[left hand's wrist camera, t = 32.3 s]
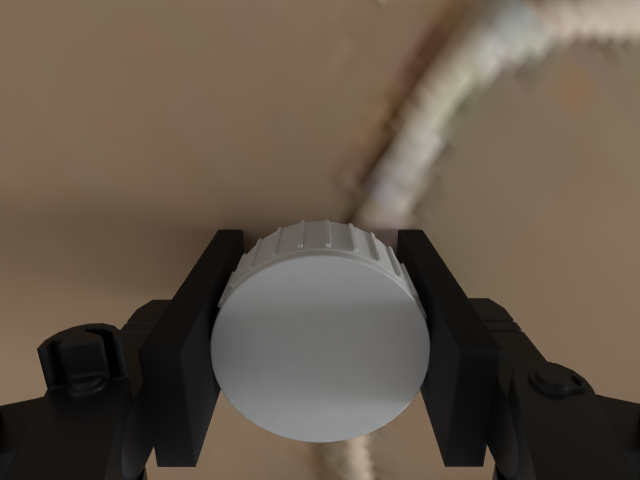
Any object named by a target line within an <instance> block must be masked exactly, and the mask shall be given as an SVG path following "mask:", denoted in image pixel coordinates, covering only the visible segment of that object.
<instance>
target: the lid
mask: <svg viewBox="0 0 640 480" xmlns="http://www.w3.org/2000/svg"><path fill="white" fill-rule="evenodd" d="M418 297H419V296H418V294H417V292H416V289H415V287H414V285H413V283H412V281H411V278H410V276H409V274H408V272H407V270H406V267H405V265H404V264H403V263H402V264H400V263H399V261H398V260H397V258H396V257H395V255H394V252H393V250H392V248H391V247H390V246H388V247H386V246H385V245H384V244H383V243H382V242H381V241H379V240H378V239H376V238H375V235H374V234H373V233H372V232H371V233H370V234H369V233H367V232H365V231H363V230H361V229H358V228H356V227H353V224H351V223H349V224H348V225H347V224H342V223H337V222H329V219H325V221H311V222H305V220H303V221H301V222H300V223H298V224H294V225H291V226H288V227H285V228H282V227H279V228H278V229H277V231H276V232H274V233H272V234H270V235H269V236H267V237H265V238H264V239H261V238H260V239H258V241H257V244H256V245H255V246H254V247H253V248H252V249H251V250H250V251H249V252H248V254H247V255H246V254H245V253H244V254H243V255H242V257H241V260H240V262H239V264H238V266H237V269H236V271H235V272H232V274H231V277H230V279H229V281H228V283H227V286H226V288H225V290H224V292H223V294H222V297H221V299H220V301H219V303H218V306H217V307H220V310H219V312H218V315H217V317H216V320H215V323H214V326H213V329H212V335H211V341H210V347H211V358H212V367H213V371H214V374H215V377H216V380H217V382H218V384H219V386H220V388H221V390H222V392H223V393H224V395H225V396H226V398H227V399H228V401H229V402H230V403H231V404H232V405H233V406H234V407H235V408H236V410H238V411H239V412H240V413H241V414H242V415H243V416H244V417H246V418H247V419H248V420H250V421H251V422H253V423H254V424H256V425H257V426H259V427H261V428H263V429H265V430H267V431H269V432H271V433H274V434H276V435H279V436H282V437H286V438H290V439H294V440H300V441H306V442H334V441H341V440H347V439H351V438H355V437H358V436H361V435H364V434H367V433H369V432H371V431H373V430H376V429H378V428H380V427H382V426H383V425H385V424H386V423H388V422H389V421H391V420H392V419H394V418H395V417H396V416H397V415H398V414H400V413H401V412H402V411H403V410H404V409H405V408H406V407H407V406H408V405H409V404H410V402H411V401H412V400H413V398H414V397H415V396H416V394H417V393H418V391H419V389H420V387H421V385H422V383H423V381H424V379H425V376H426V373H427V370H428V365H429V356H430V336H429V331H428V327H427V323H426V320H425V319H427V316H426V313H425V311H424V309H423V307H422V304H421V302H420V300H419V298H418Z"/></svg>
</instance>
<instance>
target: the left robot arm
mask: <svg viewBox="0 0 640 480" xmlns="http://www.w3.org/2000/svg"><path fill="white" fill-rule="evenodd" d="M243 254H244V246H243V231H242V230H218V232H217V233H216V235H215V236H214V238H213V239H212V241H211V242H210V244H209V245H208V247H207V248H206V250H205V251H204V253H203V254H202V256H201V257H200V259H199V260H198V262H197V263H196V265H195V266H194V268H193V269H192V271H191V272H190V274H189V275H188V276H187V278H186V279H185V281H184V282H183V284H182V285H181V287H180V288H179V290H178V291H177V293H176V294H175V296H174V297H173V299H172V300H151V301H150V302H148V303H147V304H145V305H143V306H142V307H140V308H139V309H137V310H136V311H135V312H134V314H133V315H132V316H131V318H130V319H129V320H128V321H127V324H125V325H124V326H123V328H122V329H121V330H119V329H117V328H116V327H115V326H113V325H108V324H103V323H99V324H85V325H80V326H76V327H72V328H69V329H66V330H64V331H61V332H58V333H57V334H55V335H53V336H52V337H50V338H48V339H47V340H45V341H44V342H43V343H42V344H41V345H40V346H39V347H38V348H37V351H38V355H39V358H40V362H41V366H42V370H43V373H44V377H45V381H46V385H47V391H46V393H45V395H44V397H40V398H36V399H32V400H27V401H22V402H17V403H12V404H7V405H3V406H0V480H147V473H146V468H145V464H146V462H147V460H148V458H149V456H150V453H151V451H152V449H153V447H154V448H155V454H156V460H157V466H158V467H196V464H197V461H198V458H199V455H200V452H201V449H202V445H203V442H204V439H205V436H206V433H207V430H208V427H209V424H210V421H211V417H212V414H213V411H214V408H215V405H216V402H217V399H218V396H219V393H220V389H221V388H220V386H219V384H218V382H217V380H216V377H215V374H214V371H213V367H212V358H211V347H210V341H211V335H212V329H213V326H214V323H215V320H216V317H217V315H218V312H219V310H220V307H217V306H218V303H219V301H220V299H221V297H222V294H223V292H224V290H225V288H226V286H227V283H228V281H229V279H230V277H231V274H232V272H235V271H236V269H237V266H238V264H239V262H240V260H241V257H242V255H243ZM397 260H398V261H399V263H400V264H402V263H403V264H404V265H405V267H406V270H407V272H408V274H409V276H410V278H411V281H412V283H413V285H414V287H415V289H416V292H417V294H418V296H419V297H418V298H419V300H420V302H421V304H422V307H423V309H424V311H425V313H426V316H427V319H425V320H426V323H427V327H428V331H429V336H430V356H429V365H428V370H427V373H426V376H425V379H424V381H423V383H422V385H421V387H420V390H421V393H422V396H423V399H424V402H425V406H426V409H427V412H428V415H429V418H430V421H431V424H432V427H433V431H434V434H435V437H436V440H437V443H438V446H439V449H440V452H441V456H442V459H443V462H444V465H445V467H483V464H484V458H485V452H486V447H487V445H488V447H489V449H490V452H491V454H492V456H493V458H494V460H495V468H494V473H493V478H492V480H640V404H638V403H633V402H628V401H623V400H618V399H614V398H609V397H604V396H601V395H597V394H595V392H594V390H593V388H592V387H591V386H590V385H589V383H588V382H587V381H586V380H585V379H584V378H583V377H582V376H580V375H579V374H577V373H576V372H574V371H573V370H571V369H568V368H566V367H564V366H562V365H559V364H556V363H551V362H547V361H546V360H545V358H544V357H543V356H542V355H541V353H540V352H539V351H538V350H537V348H536V347H535V346H534V345H533V343H532V342H531V341H530V340H529V338H528V337H527V336H526V335H525V333H524V332H522V330H521V328H520V327H519V326H518V325H517V323H516V322H514V320H513V318H512V317H511V316H510V315H509V313H508V312H507V311H506V310H505V308H503V307H502V306H500V305H498V304H497V303H495V302H494V301H492V300H490V299H489V298H468V297H467V296H466V294H465V293H464V292H463V290H462V289H461V287H460V286H459V284H458V283H457V281H456V280H455V278H454V277H453V275H452V274H451V272H450V271H449V269H448V268H447V266H446V265H445V263H444V262H443V260H442V259H441V257H440V256H439V254H438V253H437V251H436V250H435V248H434V247H433V245H432V244H431V242H430V241H429V239H428V238H427V236H426V235H425V233H424V232H423V230H398V245H397Z"/></svg>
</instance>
